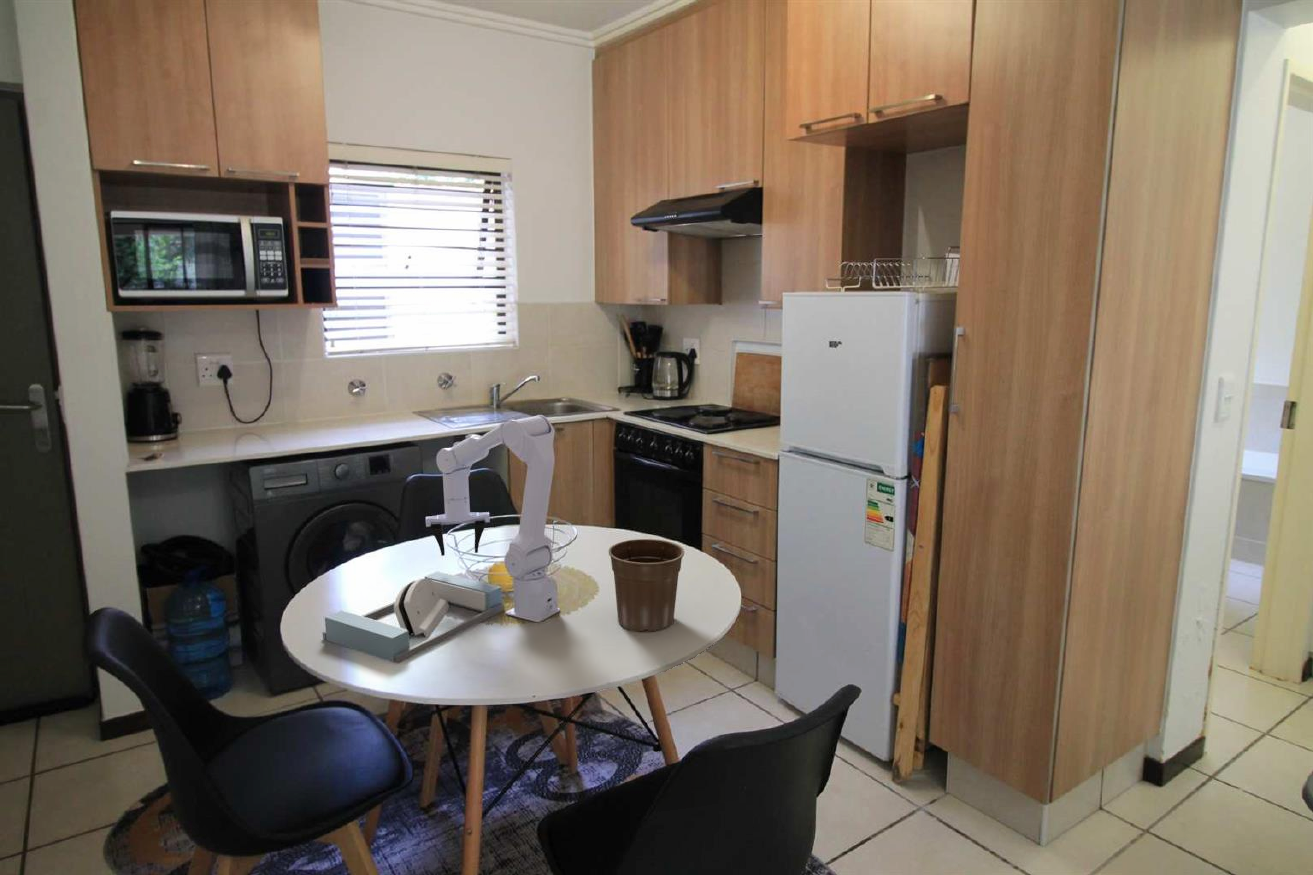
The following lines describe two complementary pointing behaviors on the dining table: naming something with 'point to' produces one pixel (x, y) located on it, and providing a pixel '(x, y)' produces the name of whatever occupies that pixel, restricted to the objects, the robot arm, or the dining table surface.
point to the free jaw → (466, 591)
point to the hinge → (420, 607)
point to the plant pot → (646, 582)
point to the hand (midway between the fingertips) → (459, 552)
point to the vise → (387, 633)
